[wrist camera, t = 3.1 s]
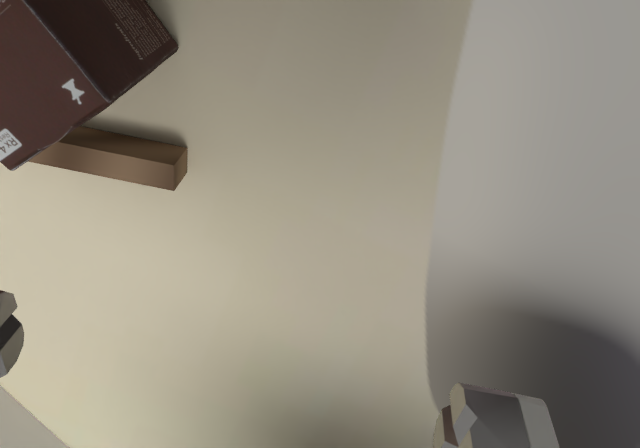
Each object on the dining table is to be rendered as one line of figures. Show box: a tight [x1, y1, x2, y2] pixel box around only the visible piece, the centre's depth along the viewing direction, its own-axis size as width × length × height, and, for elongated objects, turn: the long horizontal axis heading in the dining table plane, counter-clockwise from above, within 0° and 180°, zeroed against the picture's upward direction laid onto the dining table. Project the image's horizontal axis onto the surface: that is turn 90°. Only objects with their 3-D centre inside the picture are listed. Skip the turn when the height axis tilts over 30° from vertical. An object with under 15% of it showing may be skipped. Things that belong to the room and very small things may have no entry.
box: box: [0, 0, 178, 171], centre depth 20 cm, size 6×6×7 cm
